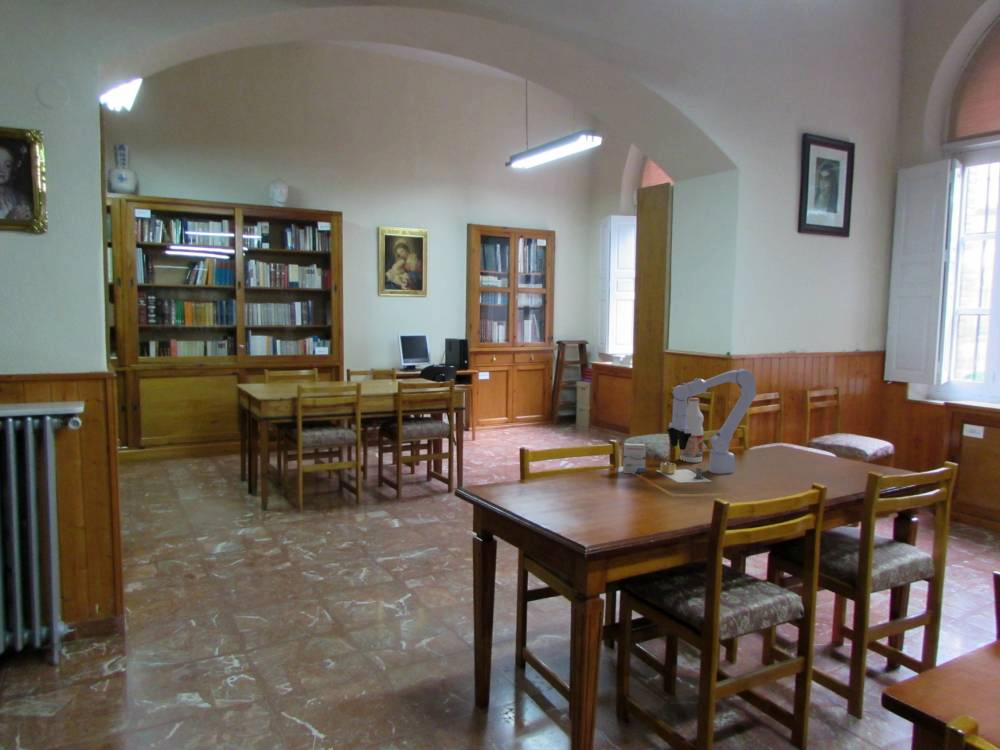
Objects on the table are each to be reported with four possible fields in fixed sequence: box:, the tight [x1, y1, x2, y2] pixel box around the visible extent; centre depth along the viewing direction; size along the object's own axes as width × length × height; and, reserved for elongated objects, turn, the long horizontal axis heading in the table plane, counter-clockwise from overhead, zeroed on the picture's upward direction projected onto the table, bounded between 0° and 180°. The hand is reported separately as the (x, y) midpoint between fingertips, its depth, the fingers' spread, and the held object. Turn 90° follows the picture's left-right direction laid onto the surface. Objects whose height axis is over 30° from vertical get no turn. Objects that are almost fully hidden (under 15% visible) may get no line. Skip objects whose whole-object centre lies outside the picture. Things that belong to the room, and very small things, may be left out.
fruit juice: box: [679, 396, 704, 463], centre depth 294 cm, size 9×9×28 cm
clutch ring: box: [659, 462, 677, 473], centre depth 266 cm, size 6×6×3 cm
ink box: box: [622, 442, 647, 475], centre depth 269 cm, size 8×5×12 cm, turn 84°
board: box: [655, 467, 713, 483], centre depth 262 cm, size 14×20×5 cm
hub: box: [662, 461, 674, 475], centre depth 266 cm, size 5×5×4 cm
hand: (678, 447), depth 272 cm, fingers open, 7 cm apart
